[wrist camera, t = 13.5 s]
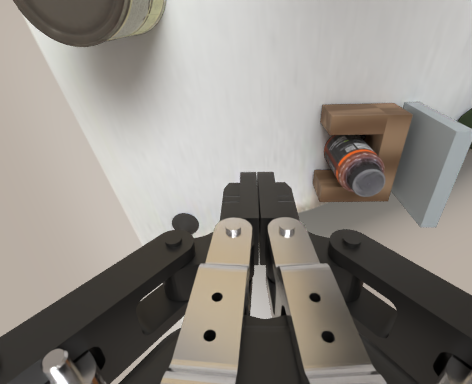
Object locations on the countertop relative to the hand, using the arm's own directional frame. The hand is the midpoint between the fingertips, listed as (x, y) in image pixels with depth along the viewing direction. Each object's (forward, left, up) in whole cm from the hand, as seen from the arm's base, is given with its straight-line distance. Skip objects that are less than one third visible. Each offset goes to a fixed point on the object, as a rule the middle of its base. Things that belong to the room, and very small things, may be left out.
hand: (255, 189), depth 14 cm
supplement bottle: (+11, +14, -31) cm, 36 cm away
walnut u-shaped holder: (+11, +15, -31) cm, 36 cm away
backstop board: (+11, +23, -31) cm, 40 cm away
